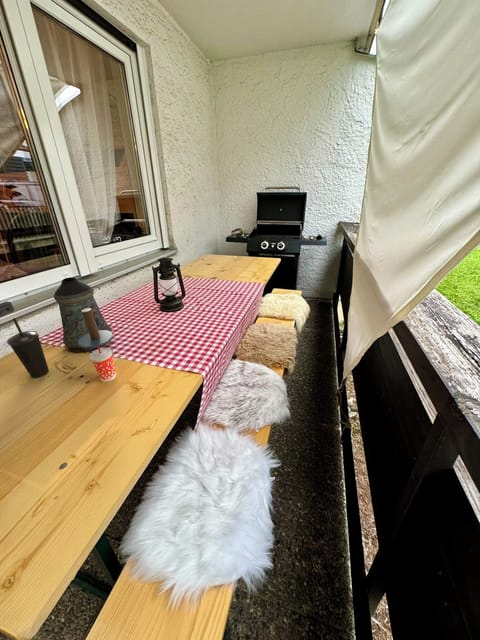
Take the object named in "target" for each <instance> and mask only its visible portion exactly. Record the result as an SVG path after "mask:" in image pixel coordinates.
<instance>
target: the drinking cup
mask: <svg viewBox="0 0 480 640" xmlns="http://www.w3.org/2000/svg"><path fill="white" fill-rule="evenodd" d="M12 321H13V323H14V325H15V327H16V329H17V331H18V333H16V334H14V335H12V336H10V337H9V338H8V339H7V340H6V343H7V345H8V346H10V348H11V349H12V350H13V352H14V353H15V355H16V356H17V358H18V359H19V361H20V363H21V364H22V365H23V367H24V368H25V370H26V371H27V373H28V374H29V376H30V377H31V378H33V379H37V378H41V377H43V376H45V375H46V374H48V373H49V372H50V369H49V366H48V363H47V359H46V356H45V353H44V349H43V347H42V343H41V340H40V337H39V336H40V333H39V332H38V331H35V330H27V331H23V330H22V329H21V327H20V325H19V322H18V321H17V318H16V317H13V318H12Z"/></svg>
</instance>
